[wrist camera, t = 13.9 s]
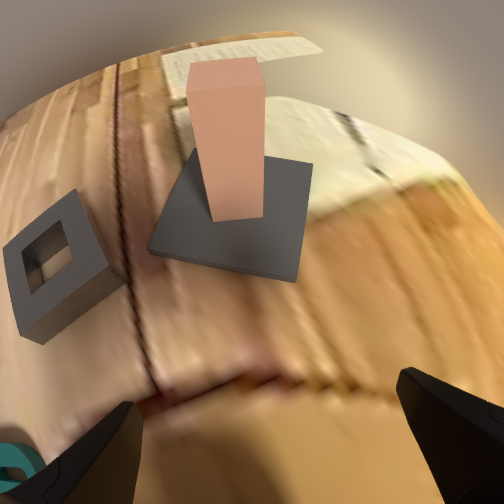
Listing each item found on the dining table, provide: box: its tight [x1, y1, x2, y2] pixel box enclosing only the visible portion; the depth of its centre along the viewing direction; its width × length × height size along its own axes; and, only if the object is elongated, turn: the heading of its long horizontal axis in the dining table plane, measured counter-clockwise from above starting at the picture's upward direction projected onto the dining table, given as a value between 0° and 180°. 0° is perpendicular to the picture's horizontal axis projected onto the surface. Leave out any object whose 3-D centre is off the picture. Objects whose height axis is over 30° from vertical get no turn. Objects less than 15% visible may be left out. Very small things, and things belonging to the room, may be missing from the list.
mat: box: [147, 148, 313, 283], centre depth 27 cm, size 13×13×1 cm
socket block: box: [3, 188, 126, 345], centre depth 23 cm, size 11×11×4 cm
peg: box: [186, 57, 265, 222], centre depth 21 cm, size 4×4×13 cm
